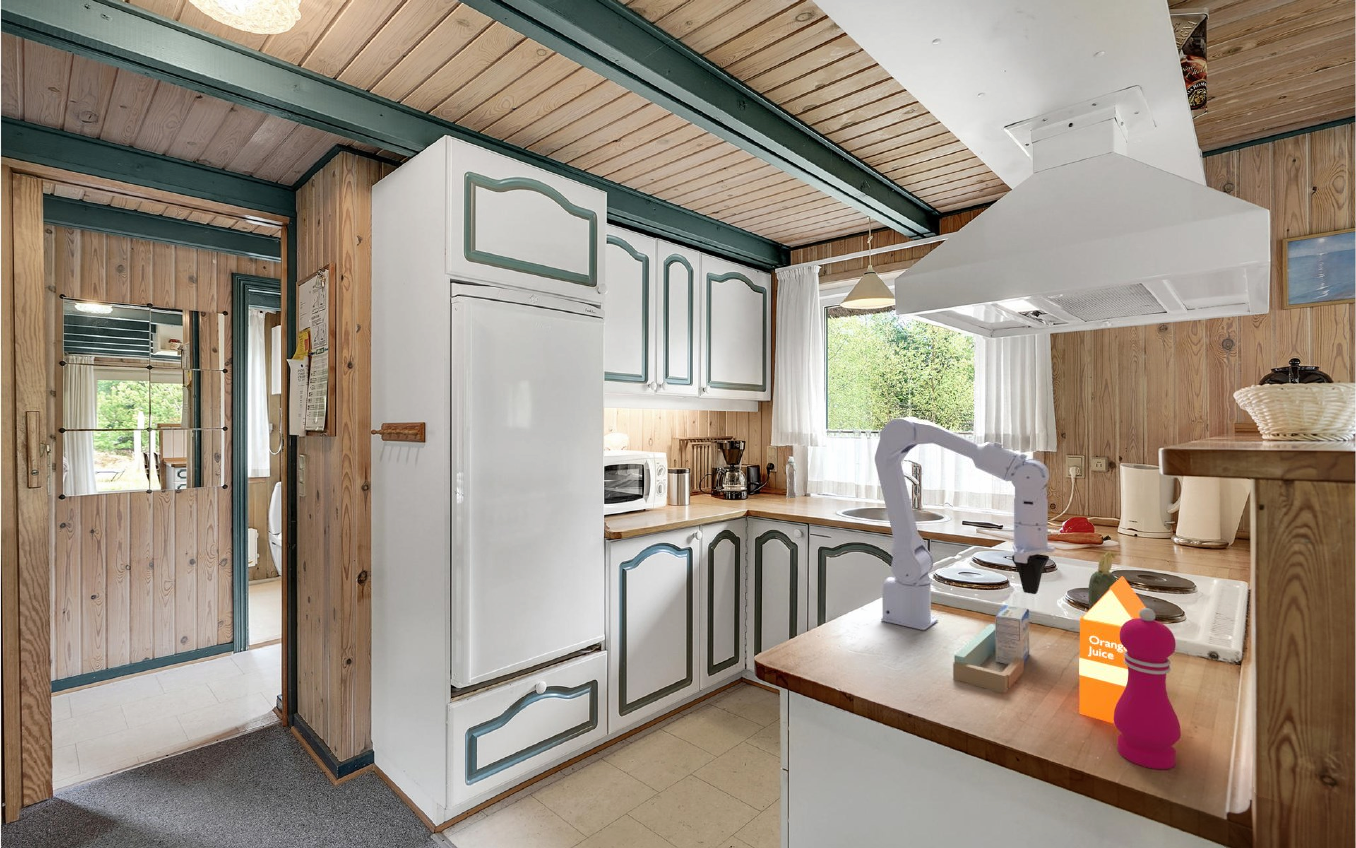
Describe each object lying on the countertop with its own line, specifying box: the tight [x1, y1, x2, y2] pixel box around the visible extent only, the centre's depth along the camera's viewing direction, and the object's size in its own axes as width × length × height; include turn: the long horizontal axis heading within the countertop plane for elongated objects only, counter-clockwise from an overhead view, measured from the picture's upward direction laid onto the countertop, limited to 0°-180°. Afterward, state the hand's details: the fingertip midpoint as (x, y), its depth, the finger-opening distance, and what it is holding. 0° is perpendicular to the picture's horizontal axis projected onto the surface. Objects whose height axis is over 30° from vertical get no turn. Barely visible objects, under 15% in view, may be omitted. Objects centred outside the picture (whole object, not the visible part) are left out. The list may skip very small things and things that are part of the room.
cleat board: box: [952, 623, 1025, 694], centre depth 114 cm, size 8×21×4 cm, turn 138°
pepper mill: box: [1113, 607, 1182, 770], centre depth 85 cm, size 7×7×20 cm
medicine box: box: [994, 604, 1030, 665], centre depth 118 cm, size 8×4×9 cm, turn 143°
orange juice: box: [1078, 575, 1147, 724], centre depth 97 cm, size 8×9×20 cm
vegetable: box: [1088, 550, 1118, 611], centre depth 117 cm, size 4×4×20 cm
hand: (1030, 592), depth 124 cm, fingers closed
